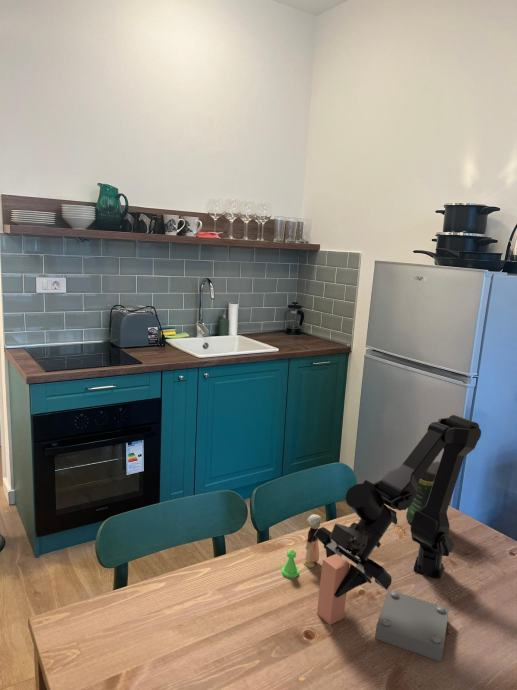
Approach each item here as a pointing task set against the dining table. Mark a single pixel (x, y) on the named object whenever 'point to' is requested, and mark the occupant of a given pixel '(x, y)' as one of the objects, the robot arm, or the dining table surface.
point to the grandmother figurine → (312, 541)
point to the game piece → (290, 566)
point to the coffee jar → (423, 491)
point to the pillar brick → (332, 589)
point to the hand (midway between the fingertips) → (328, 590)
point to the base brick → (413, 624)
